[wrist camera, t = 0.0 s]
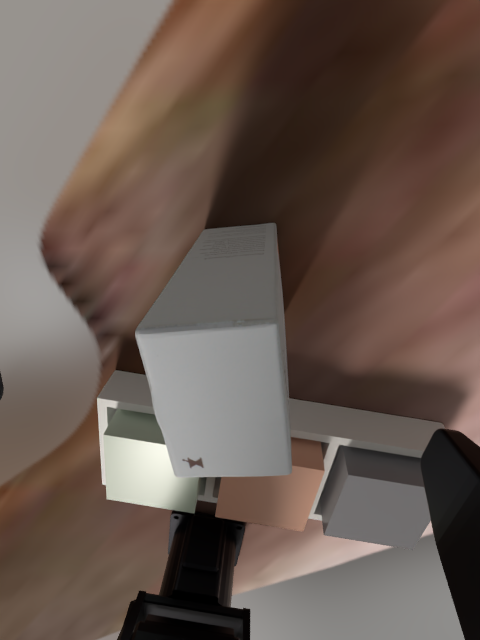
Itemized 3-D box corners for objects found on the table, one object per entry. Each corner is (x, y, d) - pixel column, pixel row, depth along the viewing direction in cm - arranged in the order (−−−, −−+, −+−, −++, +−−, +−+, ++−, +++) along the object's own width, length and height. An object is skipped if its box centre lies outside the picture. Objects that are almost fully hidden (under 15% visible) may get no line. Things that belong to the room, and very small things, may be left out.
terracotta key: (300, 498, 27) (303, 531, 25) (219, 485, 27) (215, 516, 25) (320, 439, 24) (324, 470, 22) (229, 424, 24) (225, 454, 22)
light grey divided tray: (401, 499, 30) (414, 535, 27) (117, 452, 30) (102, 484, 27) (442, 423, 26) (461, 457, 23) (115, 370, 26) (97, 397, 23)
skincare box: (285, 316, 23) (294, 481, 12) (217, 321, 23) (170, 483, 13) (278, 217, 20) (282, 320, 10) (201, 225, 21) (125, 331, 10)
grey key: (401, 515, 27) (412, 549, 25) (319, 501, 27) (323, 535, 25) (432, 457, 24) (448, 491, 22) (341, 442, 24) (348, 474, 22)
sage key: (201, 482, 27) (194, 513, 25) (120, 468, 27) (106, 499, 25) (208, 421, 24) (202, 450, 22) (118, 406, 24) (103, 434, 22)
